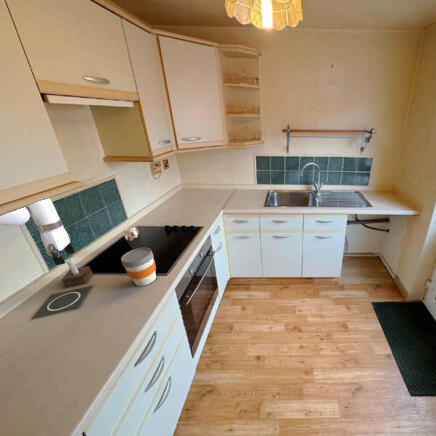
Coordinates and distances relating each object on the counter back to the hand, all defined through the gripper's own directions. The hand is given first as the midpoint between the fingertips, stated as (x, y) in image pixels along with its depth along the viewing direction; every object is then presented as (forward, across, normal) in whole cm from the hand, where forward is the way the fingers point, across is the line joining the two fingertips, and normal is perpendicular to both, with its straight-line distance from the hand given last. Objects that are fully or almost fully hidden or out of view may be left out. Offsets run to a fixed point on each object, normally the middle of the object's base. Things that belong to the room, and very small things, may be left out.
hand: (66, 258), depth 106 cm
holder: (+14, 0, +1) cm, 14 cm away
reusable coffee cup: (+13, +12, +32) cm, 36 cm away
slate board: (+14, +15, +1) cm, 20 cm away
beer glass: (+13, -18, +23) cm, 32 cm away
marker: (+14, 0, +1) cm, 14 cm away
